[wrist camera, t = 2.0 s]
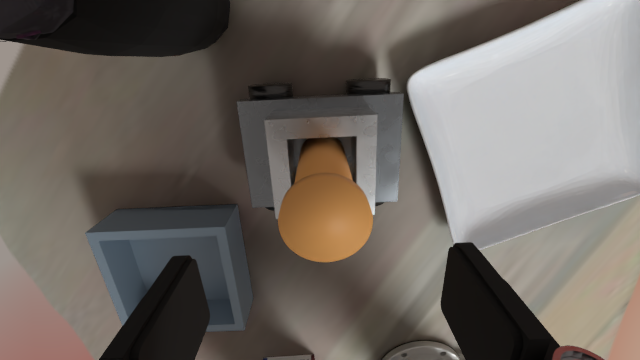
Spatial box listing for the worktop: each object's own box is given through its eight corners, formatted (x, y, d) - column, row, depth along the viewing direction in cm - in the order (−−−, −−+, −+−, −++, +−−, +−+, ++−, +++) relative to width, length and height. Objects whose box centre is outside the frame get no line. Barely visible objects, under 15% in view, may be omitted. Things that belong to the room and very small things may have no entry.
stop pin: (349, 126, 26) (373, 177, 15) (350, 179, 28) (371, 260, 17) (292, 128, 26) (273, 182, 15) (296, 181, 28) (282, 264, 17)
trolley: (390, 77, 29) (419, 85, 21) (386, 189, 34) (408, 232, 25) (247, 84, 29) (220, 94, 21) (262, 194, 34) (244, 239, 26)
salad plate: (622, -26, 26) (664, -37, 23) (629, 178, 34) (661, 191, 31) (393, 74, 29) (402, 76, 26) (446, 242, 37) (458, 259, 34)
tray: (237, 204, 34) (224, 226, 30) (253, 298, 40) (244, 330, 35) (116, 209, 34) (85, 232, 30) (148, 302, 40) (126, 334, 35)
